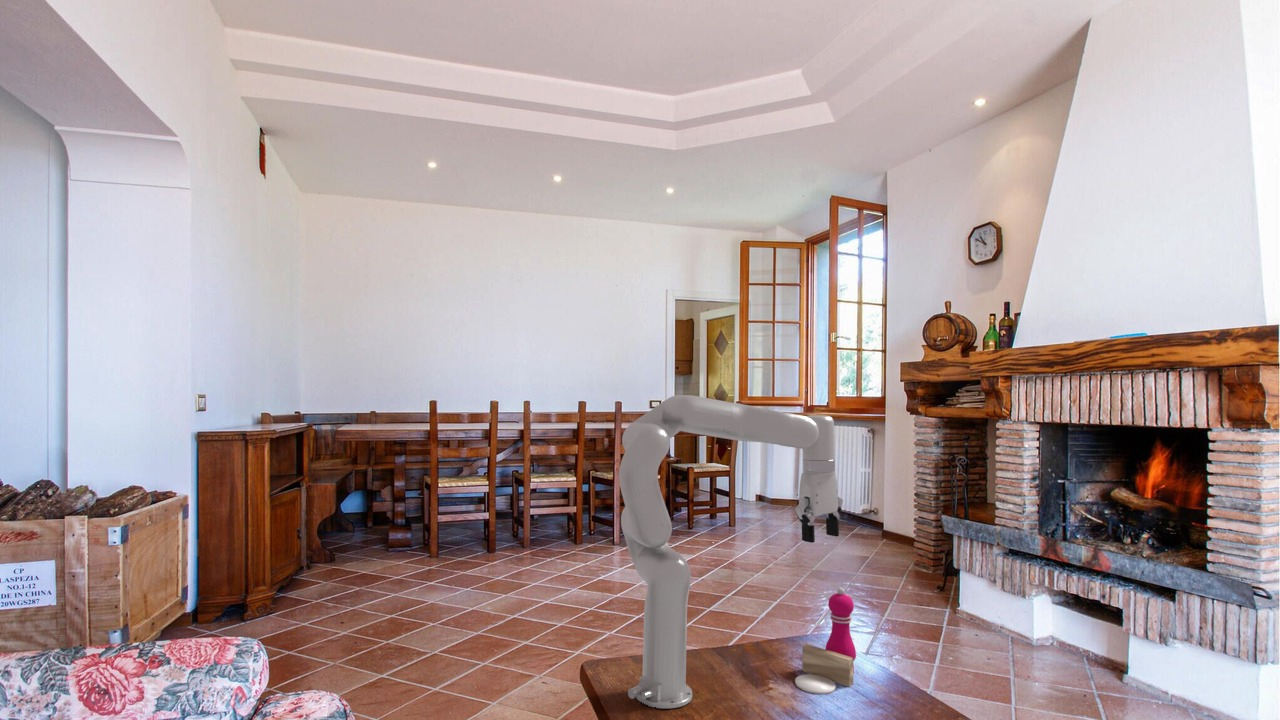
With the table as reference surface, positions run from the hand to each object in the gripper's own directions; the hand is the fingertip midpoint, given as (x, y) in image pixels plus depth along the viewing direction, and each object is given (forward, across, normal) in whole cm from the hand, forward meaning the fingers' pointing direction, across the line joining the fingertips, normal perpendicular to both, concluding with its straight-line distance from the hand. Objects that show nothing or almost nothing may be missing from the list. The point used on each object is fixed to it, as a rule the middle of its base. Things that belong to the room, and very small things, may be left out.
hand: (820, 538), depth 156 cm
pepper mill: (+33, -7, 0) cm, 34 cm away
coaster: (+33, +5, +1) cm, 33 cm away
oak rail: (+33, -1, 0) cm, 33 cm away
